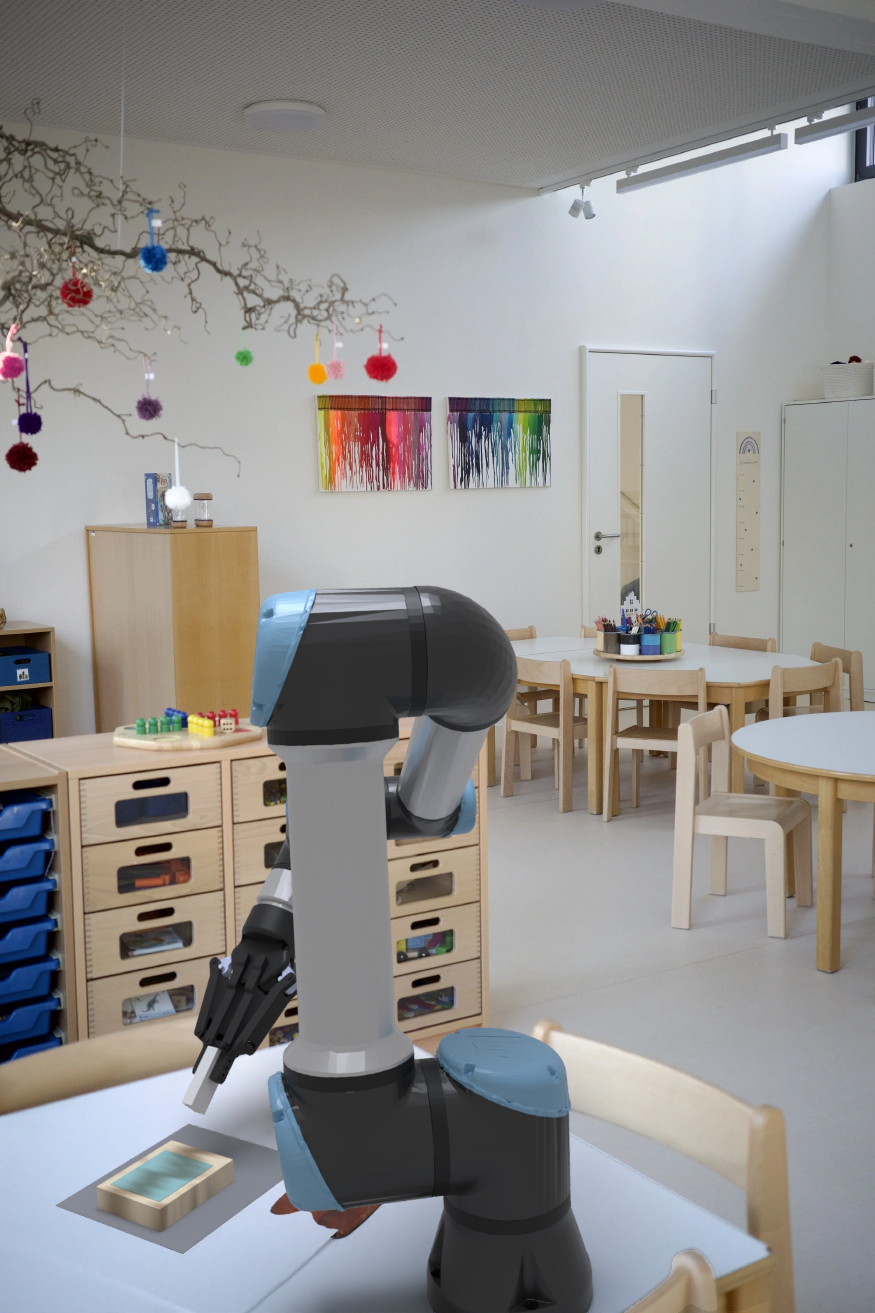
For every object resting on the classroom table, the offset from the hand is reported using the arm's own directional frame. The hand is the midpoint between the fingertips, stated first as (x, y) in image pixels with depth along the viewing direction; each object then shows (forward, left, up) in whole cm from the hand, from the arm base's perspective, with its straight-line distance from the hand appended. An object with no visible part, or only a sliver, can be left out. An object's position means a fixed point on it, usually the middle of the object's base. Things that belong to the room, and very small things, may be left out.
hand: (192, 1108), depth 130 cm
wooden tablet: (-15, -11, -9) cm, 21 cm away
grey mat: (0, +2, -8) cm, 8 cm away
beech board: (0, -1, -6) cm, 6 cm away
